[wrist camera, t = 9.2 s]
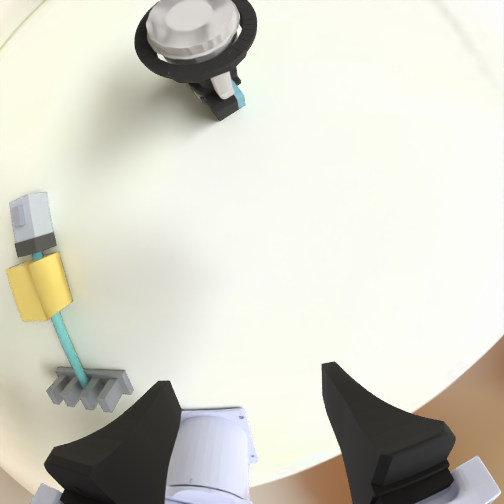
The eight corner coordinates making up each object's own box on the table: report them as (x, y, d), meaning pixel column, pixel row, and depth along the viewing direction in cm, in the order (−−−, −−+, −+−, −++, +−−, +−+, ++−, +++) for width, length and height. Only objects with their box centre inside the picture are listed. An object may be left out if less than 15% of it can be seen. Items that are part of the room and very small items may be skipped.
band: (56, 245, 20) (37, 252, 17) (37, 250, 20) (17, 257, 17) (53, 231, 20) (33, 237, 17) (34, 237, 20) (14, 243, 17)
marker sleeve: (73, 300, 21) (46, 320, 17) (48, 303, 21) (22, 321, 17) (59, 251, 20) (28, 264, 16) (35, 257, 20) (5, 269, 16)
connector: (53, 231, 20) (30, 238, 17) (34, 237, 20) (11, 244, 17) (46, 192, 19) (23, 194, 16) (27, 200, 19) (4, 203, 16)
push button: (159, 72, 17) (99, 6, 7) (219, 35, 16) (199, -50, 7) (205, 137, 18) (162, 93, 9) (269, 97, 18) (284, 24, 8)
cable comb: (133, 389, 23) (119, 416, 19) (67, 384, 24) (51, 405, 20) (124, 370, 23) (108, 396, 19) (58, 367, 23) (40, 387, 19)
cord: (92, 382, 22) (87, 388, 21) (84, 382, 22) (80, 387, 21) (37, 220, 18) (30, 222, 18) (30, 223, 19) (23, 224, 18)
